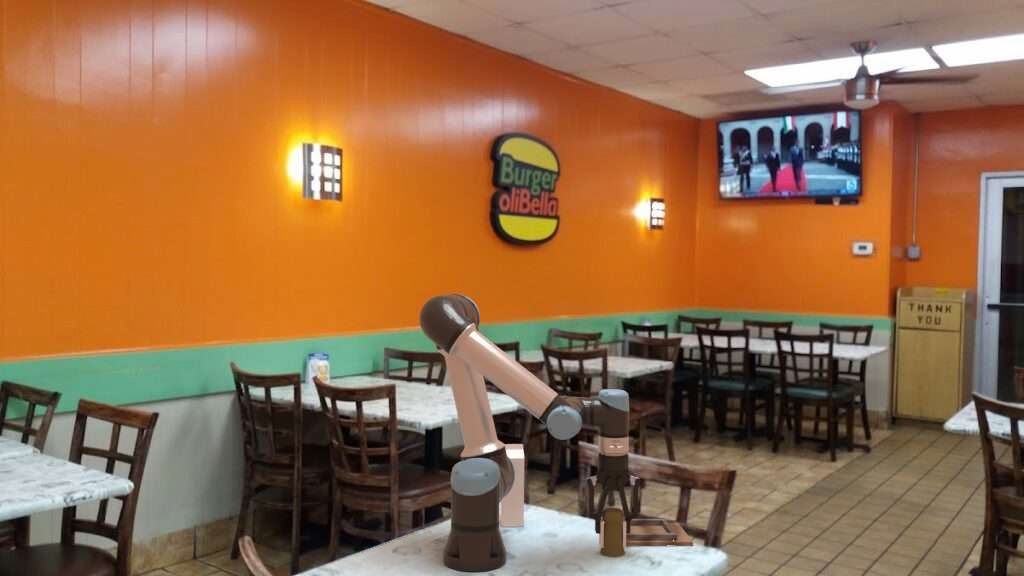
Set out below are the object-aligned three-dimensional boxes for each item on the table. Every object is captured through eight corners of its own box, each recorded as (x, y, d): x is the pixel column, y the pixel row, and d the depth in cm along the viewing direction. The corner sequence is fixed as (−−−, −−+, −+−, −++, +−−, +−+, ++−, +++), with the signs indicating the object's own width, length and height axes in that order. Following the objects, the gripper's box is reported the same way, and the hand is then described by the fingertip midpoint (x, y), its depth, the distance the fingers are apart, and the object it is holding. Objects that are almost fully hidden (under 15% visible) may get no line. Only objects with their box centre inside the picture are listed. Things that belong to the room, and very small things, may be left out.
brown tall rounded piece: (616, 559, 199) (617, 514, 199) (595, 553, 203) (595, 509, 202) (629, 552, 204) (629, 508, 204) (608, 547, 207) (608, 504, 207)
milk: (523, 527, 224) (524, 446, 223) (501, 527, 223) (502, 446, 223) (521, 520, 230) (522, 441, 229) (500, 520, 229) (501, 441, 229)
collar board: (611, 546, 208) (611, 536, 208) (601, 526, 224) (602, 517, 224) (693, 545, 209) (693, 536, 209) (678, 526, 225) (678, 517, 225)
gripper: (579, 456, 199) (578, 551, 199) (652, 456, 199) (651, 551, 200) (575, 449, 206) (574, 541, 207) (646, 449, 207) (645, 541, 207)
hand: (612, 546), depth 203 cm, fingers closed on brown tall rounded piece, 5 cm apart
